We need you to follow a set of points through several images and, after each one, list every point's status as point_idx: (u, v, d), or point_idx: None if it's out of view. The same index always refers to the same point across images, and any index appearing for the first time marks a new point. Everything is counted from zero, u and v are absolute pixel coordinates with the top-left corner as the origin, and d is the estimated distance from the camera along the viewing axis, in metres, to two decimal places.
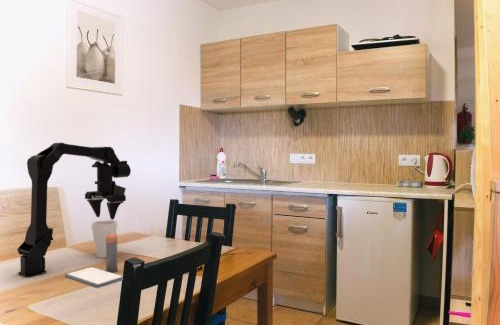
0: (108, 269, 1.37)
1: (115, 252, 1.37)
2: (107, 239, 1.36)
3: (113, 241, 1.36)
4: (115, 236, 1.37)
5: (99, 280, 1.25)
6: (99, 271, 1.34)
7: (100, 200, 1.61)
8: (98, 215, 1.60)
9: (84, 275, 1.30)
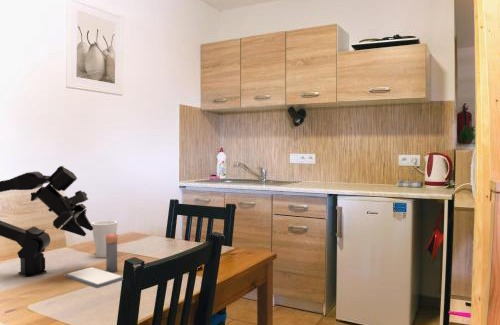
0: (108, 269, 1.37)
1: (115, 252, 1.37)
2: (107, 239, 1.36)
3: (113, 241, 1.36)
4: (115, 236, 1.37)
5: (99, 280, 1.25)
6: (99, 271, 1.34)
7: (81, 213, 1.41)
8: (90, 228, 1.41)
9: (84, 275, 1.30)
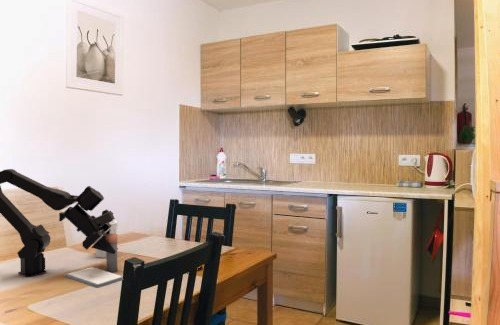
0: (108, 269, 1.37)
1: (115, 252, 1.37)
2: (107, 239, 1.36)
3: (113, 241, 1.37)
4: (115, 236, 1.37)
5: (99, 280, 1.25)
6: (99, 271, 1.34)
7: (106, 234, 1.40)
8: None
9: (84, 275, 1.30)
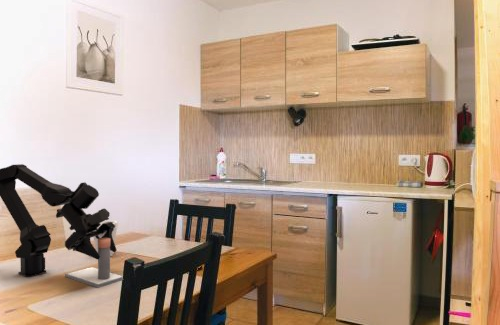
0: (98, 276, 1.26)
1: (106, 258, 1.26)
2: (98, 243, 1.26)
3: (103, 246, 1.25)
4: (106, 241, 1.26)
5: (99, 280, 1.25)
6: None
7: (106, 233, 1.33)
8: (113, 250, 1.31)
9: (84, 275, 1.30)
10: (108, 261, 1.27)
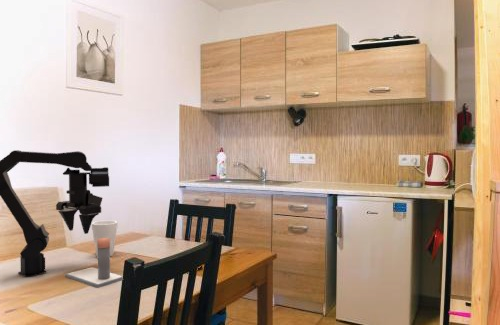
0: (98, 276, 1.26)
1: (105, 258, 1.26)
2: (97, 243, 1.26)
3: (103, 246, 1.26)
4: (105, 241, 1.26)
5: (99, 280, 1.25)
6: None
7: (73, 211, 1.44)
8: (71, 228, 1.42)
9: (84, 275, 1.30)
10: (108, 261, 1.27)
